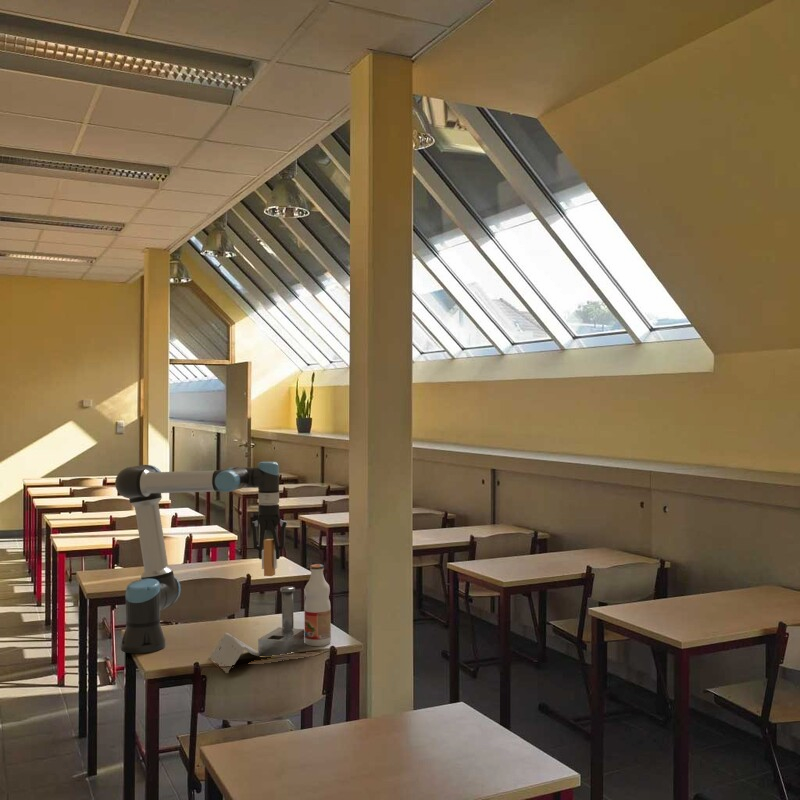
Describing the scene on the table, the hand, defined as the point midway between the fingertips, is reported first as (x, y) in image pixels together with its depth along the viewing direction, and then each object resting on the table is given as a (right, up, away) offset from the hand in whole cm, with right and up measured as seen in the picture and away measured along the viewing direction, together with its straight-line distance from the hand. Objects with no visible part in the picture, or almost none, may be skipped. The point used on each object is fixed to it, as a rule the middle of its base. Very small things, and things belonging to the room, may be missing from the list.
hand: (269, 568), depth 301 cm
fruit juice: (+18, -27, -4) cm, 32 cm away
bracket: (-6, -27, -25) cm, 37 cm away
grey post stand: (+6, -26, -14) cm, 30 cm away
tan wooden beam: (0, -3, 0) cm, 3 cm away
